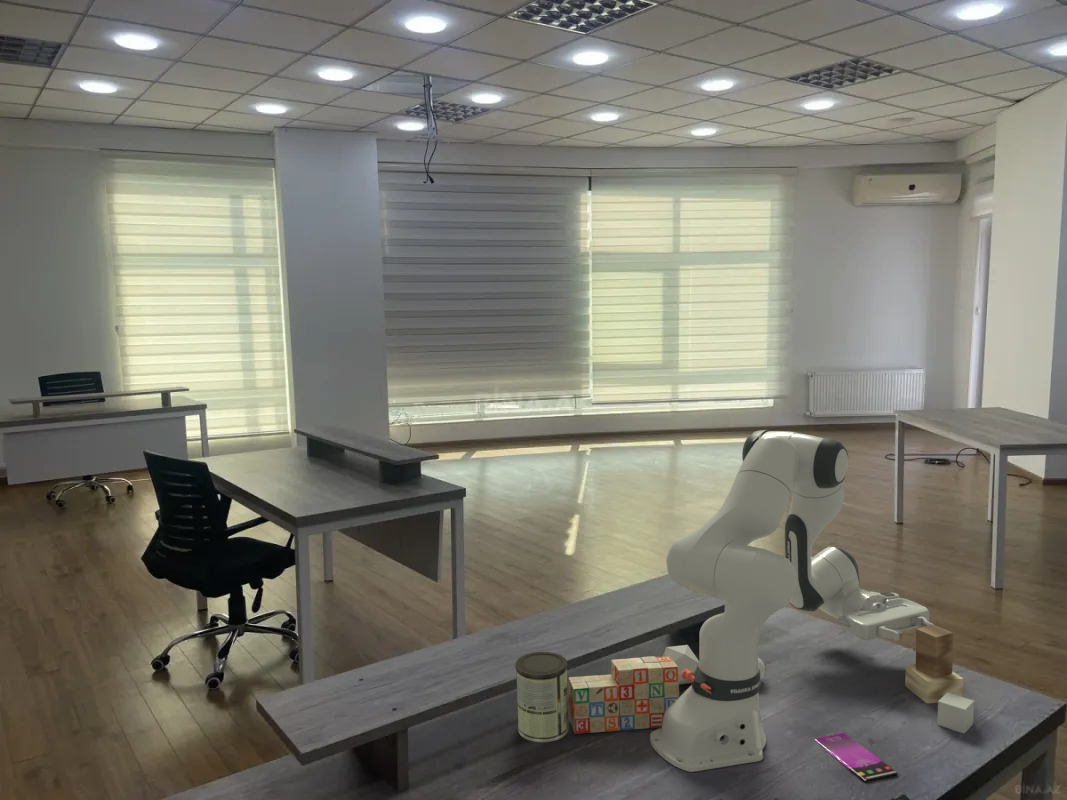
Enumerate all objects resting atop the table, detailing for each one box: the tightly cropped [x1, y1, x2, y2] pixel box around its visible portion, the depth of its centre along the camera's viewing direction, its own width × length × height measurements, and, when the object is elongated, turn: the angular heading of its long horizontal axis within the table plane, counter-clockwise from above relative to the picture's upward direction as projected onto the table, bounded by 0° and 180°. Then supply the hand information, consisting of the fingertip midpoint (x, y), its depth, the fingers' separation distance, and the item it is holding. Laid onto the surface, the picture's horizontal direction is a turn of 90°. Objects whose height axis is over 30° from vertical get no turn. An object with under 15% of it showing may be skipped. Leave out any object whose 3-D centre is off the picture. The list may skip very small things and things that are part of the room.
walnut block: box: [915, 624, 954, 678], centre depth 175 cm, size 5×5×9 cm
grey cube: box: [936, 692, 975, 734], centre depth 162 cm, size 5×5×5 cm
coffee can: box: [515, 651, 570, 743], centre depth 164 cm, size 10×10×14 cm
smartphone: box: [814, 732, 899, 783], centre depth 152 cm, size 7×15×1 cm, turn 16°
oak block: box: [904, 663, 964, 704], centre depth 175 cm, size 8×8×5 cm
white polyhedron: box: [661, 644, 699, 686], centre depth 183 cm, size 8×9×10 cm
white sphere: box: [758, 657, 766, 680], centre depth 184 cm, size 8×6×6 cm
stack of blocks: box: [568, 655, 680, 734], centre depth 165 cm, size 21×6×12 cm, turn 97°
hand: (916, 632), depth 179 cm, fingers open, 8 cm apart
